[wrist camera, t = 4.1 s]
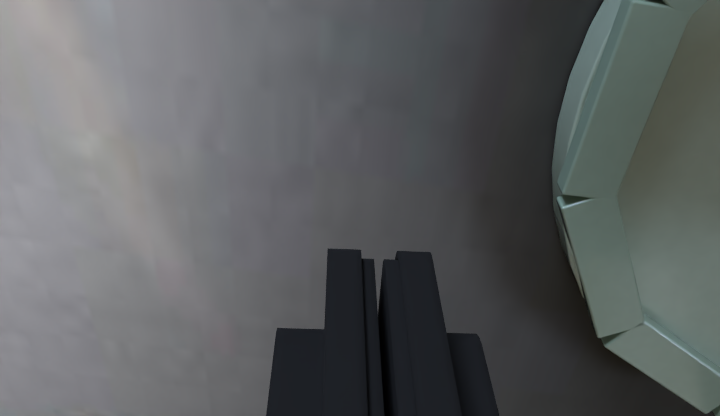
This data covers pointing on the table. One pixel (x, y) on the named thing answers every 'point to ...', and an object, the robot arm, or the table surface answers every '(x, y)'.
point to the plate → (647, 188)
